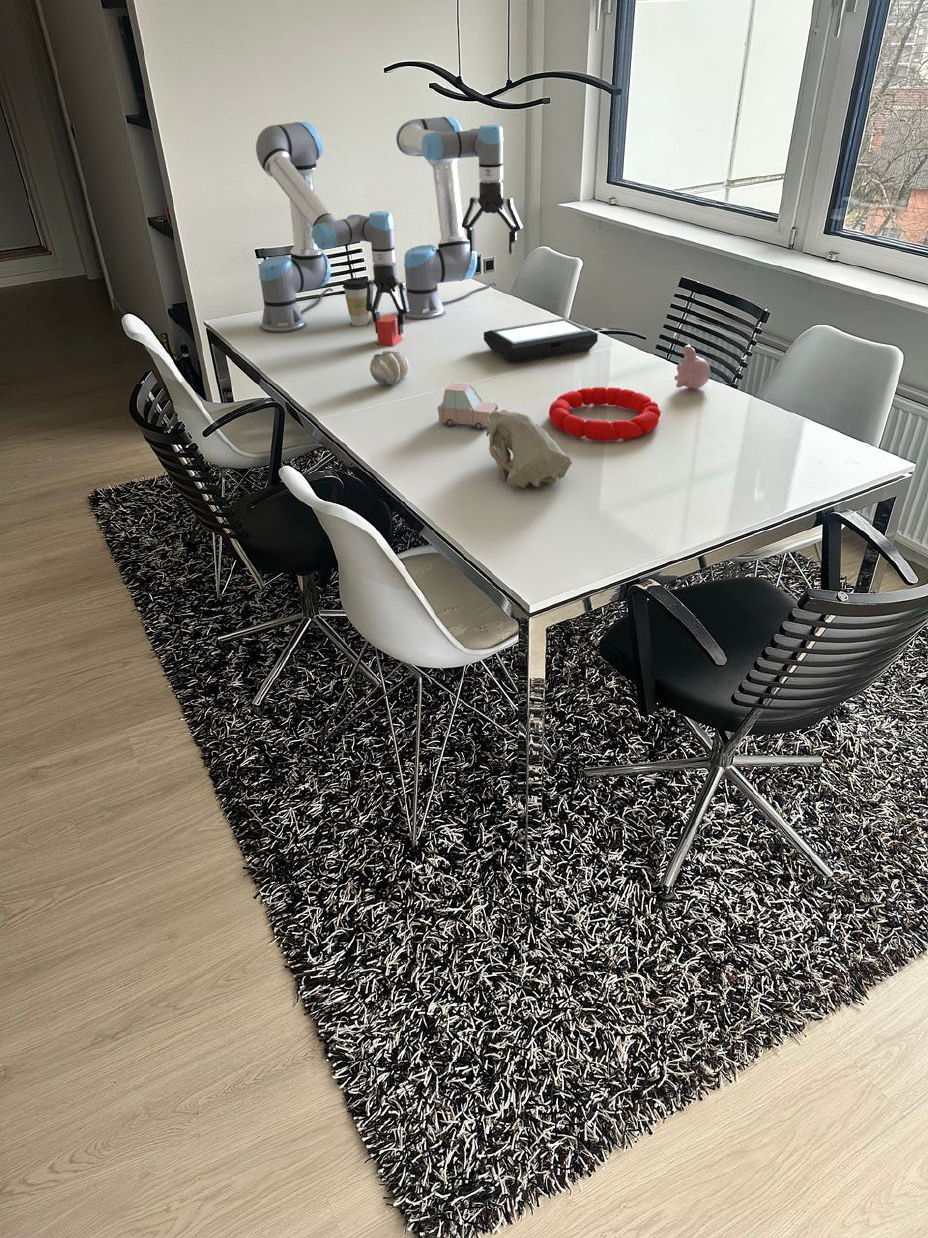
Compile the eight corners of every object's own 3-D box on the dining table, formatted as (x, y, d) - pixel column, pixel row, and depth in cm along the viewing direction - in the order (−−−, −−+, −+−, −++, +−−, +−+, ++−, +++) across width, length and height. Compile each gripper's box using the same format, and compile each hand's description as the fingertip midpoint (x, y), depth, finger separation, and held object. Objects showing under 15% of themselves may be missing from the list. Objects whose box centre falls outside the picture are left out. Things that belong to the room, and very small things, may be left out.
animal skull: (496, 517, 219) (521, 479, 201) (463, 429, 225) (484, 384, 207) (557, 503, 225) (586, 465, 206) (523, 417, 231) (549, 373, 212)
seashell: (362, 383, 274) (359, 351, 268) (406, 374, 280) (403, 342, 274) (376, 393, 267) (373, 360, 261) (420, 383, 272) (418, 351, 267)
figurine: (665, 387, 264) (669, 347, 257) (693, 380, 268) (698, 340, 261) (686, 396, 257) (690, 355, 250) (714, 388, 262) (720, 348, 255)
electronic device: (510, 346, 280) (483, 329, 295) (510, 365, 283) (483, 348, 299) (598, 331, 290) (567, 315, 305) (597, 350, 294) (567, 334, 309)
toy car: (488, 432, 240) (488, 396, 234) (436, 426, 244) (434, 390, 239) (499, 419, 247) (499, 384, 241) (448, 413, 252) (447, 379, 246)
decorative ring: (589, 435, 224) (684, 402, 234) (527, 398, 247) (617, 369, 256) (589, 461, 229) (683, 427, 238) (529, 422, 251) (617, 393, 260)
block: (378, 344, 306) (376, 320, 301) (387, 337, 312) (385, 314, 307) (392, 345, 304) (391, 322, 300) (401, 339, 310) (399, 315, 306)
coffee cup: (372, 326, 323) (368, 283, 314) (345, 327, 323) (340, 284, 315) (374, 318, 331) (371, 276, 322) (348, 319, 331) (344, 277, 323)
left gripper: (351, 264, 293) (357, 333, 306) (408, 267, 287) (413, 338, 300) (360, 258, 299) (366, 327, 312) (417, 262, 293) (421, 331, 306)
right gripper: (450, 181, 283) (452, 252, 295) (525, 183, 275) (524, 256, 287) (457, 177, 288) (460, 247, 300) (532, 179, 281) (531, 250, 293)
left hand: (389, 332), depth 306 cm, fingers open, 8 cm apart
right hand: (491, 251), depth 294 cm, fingers open, 13 cm apart
